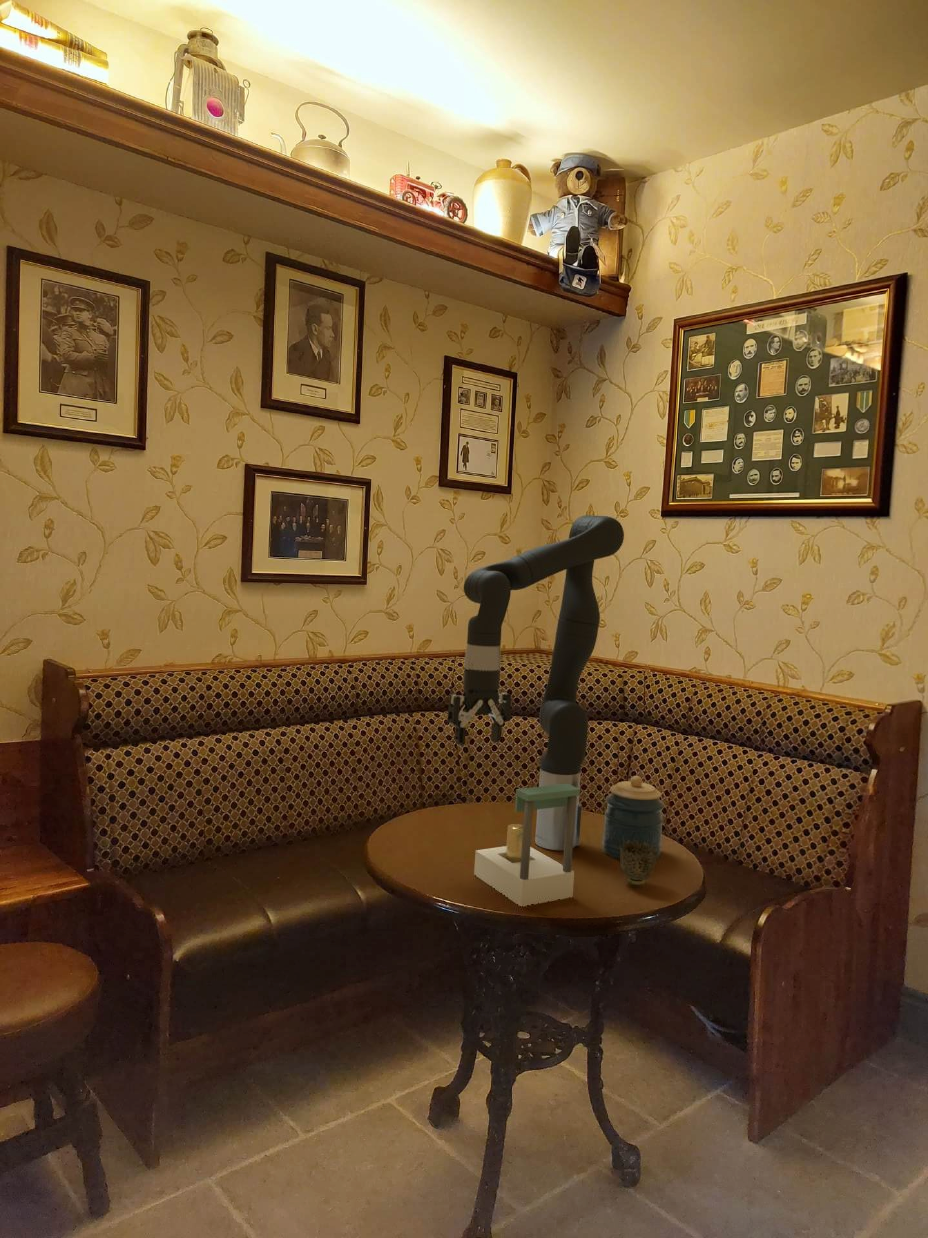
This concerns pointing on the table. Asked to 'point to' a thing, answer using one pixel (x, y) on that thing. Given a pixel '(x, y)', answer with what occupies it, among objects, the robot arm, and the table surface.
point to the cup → (637, 862)
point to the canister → (632, 816)
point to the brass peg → (514, 843)
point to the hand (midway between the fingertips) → (478, 743)
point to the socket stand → (533, 853)
